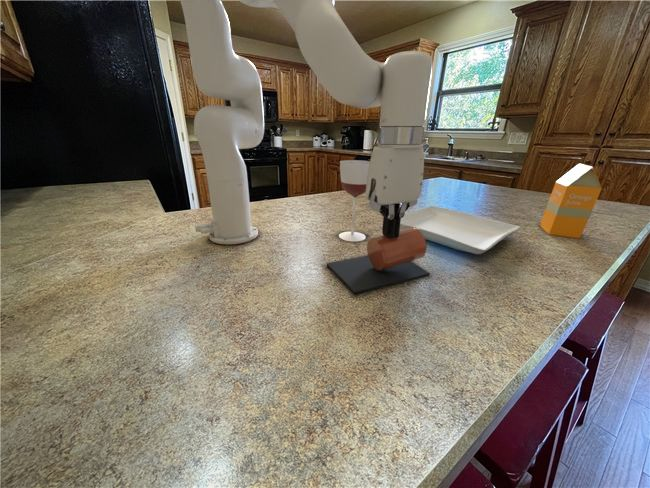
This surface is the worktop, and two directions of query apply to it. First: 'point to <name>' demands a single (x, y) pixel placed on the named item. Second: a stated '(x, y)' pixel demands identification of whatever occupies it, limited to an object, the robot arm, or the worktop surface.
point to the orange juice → (571, 202)
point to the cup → (396, 249)
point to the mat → (373, 274)
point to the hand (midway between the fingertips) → (390, 235)
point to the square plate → (458, 228)
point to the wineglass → (353, 189)
